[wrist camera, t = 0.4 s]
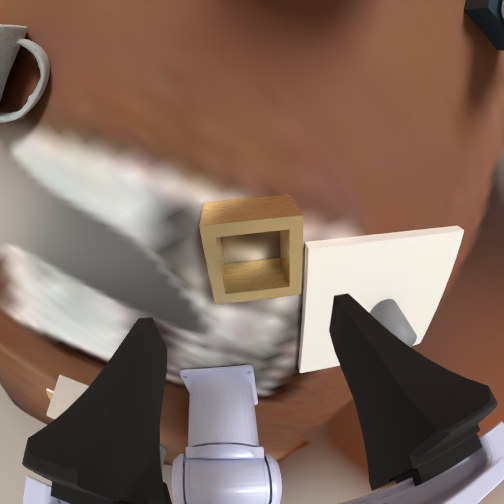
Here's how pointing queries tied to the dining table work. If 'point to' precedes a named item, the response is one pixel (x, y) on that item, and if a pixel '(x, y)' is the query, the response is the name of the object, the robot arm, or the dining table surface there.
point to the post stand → (375, 285)
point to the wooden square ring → (258, 271)
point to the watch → (488, 18)
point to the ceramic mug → (3, 55)
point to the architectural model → (64, 395)
